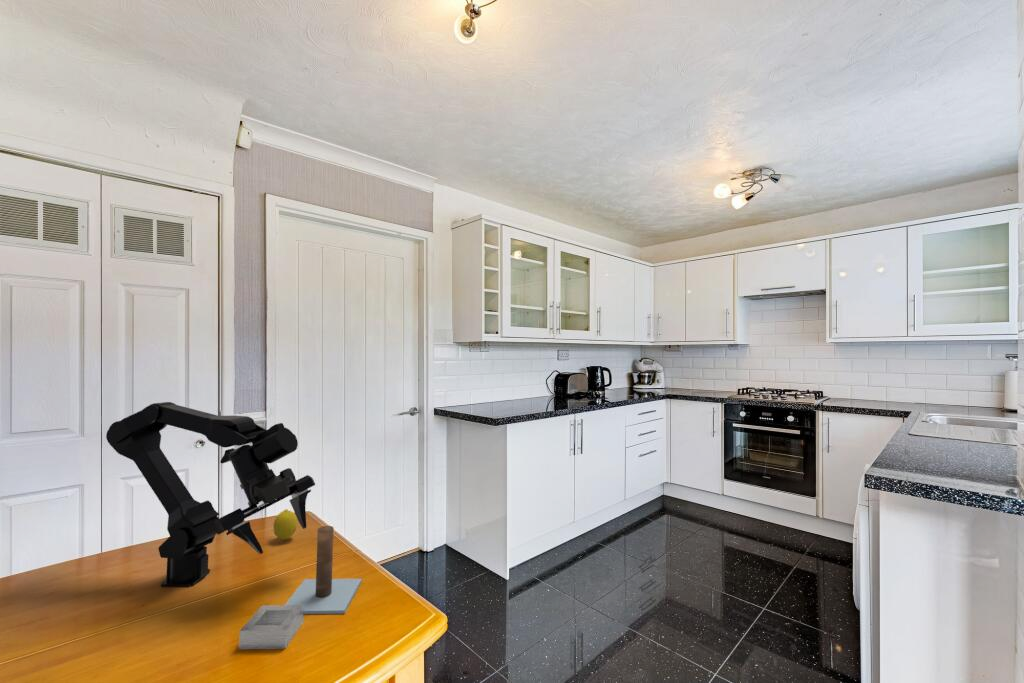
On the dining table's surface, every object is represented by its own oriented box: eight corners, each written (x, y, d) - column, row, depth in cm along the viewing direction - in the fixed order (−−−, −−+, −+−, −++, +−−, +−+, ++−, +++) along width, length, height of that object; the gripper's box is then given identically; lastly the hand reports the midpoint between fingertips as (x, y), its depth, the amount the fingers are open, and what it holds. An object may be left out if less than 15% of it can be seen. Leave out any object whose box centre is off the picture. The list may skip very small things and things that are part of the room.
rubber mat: (279, 614, 84) (279, 611, 84) (305, 581, 96) (305, 579, 96) (344, 613, 85) (344, 610, 85) (361, 581, 97) (361, 578, 97)
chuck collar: (238, 649, 74) (239, 630, 74) (261, 622, 82) (262, 605, 82) (285, 648, 74) (286, 630, 75) (303, 621, 82) (304, 605, 82)
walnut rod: (316, 599, 88) (318, 532, 89) (315, 591, 91) (317, 527, 92) (332, 595, 90) (334, 530, 90) (330, 588, 92) (332, 525, 93)
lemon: (300, 536, 119) (302, 506, 119) (288, 545, 114) (289, 513, 114) (281, 535, 120) (282, 505, 120) (268, 544, 114) (269, 512, 114)
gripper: (214, 486, 82) (249, 564, 81) (309, 444, 97) (340, 510, 96) (200, 497, 89) (232, 569, 88) (291, 457, 104) (319, 518, 103)
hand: (284, 540), depth 93 cm, fingers open, 9 cm apart
